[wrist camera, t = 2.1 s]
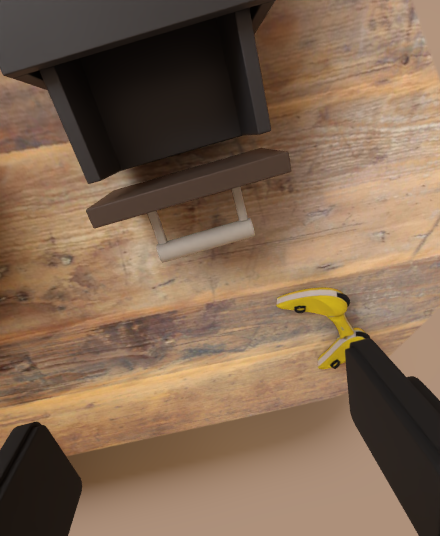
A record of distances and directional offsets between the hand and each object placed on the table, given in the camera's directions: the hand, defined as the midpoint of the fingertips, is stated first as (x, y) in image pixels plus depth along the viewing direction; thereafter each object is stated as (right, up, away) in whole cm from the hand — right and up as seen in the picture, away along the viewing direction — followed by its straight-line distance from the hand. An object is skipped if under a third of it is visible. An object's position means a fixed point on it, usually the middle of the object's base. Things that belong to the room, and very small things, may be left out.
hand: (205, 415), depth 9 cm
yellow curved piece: (+11, -1, +23) cm, 26 cm away
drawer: (-3, +16, +14) cm, 21 cm away
